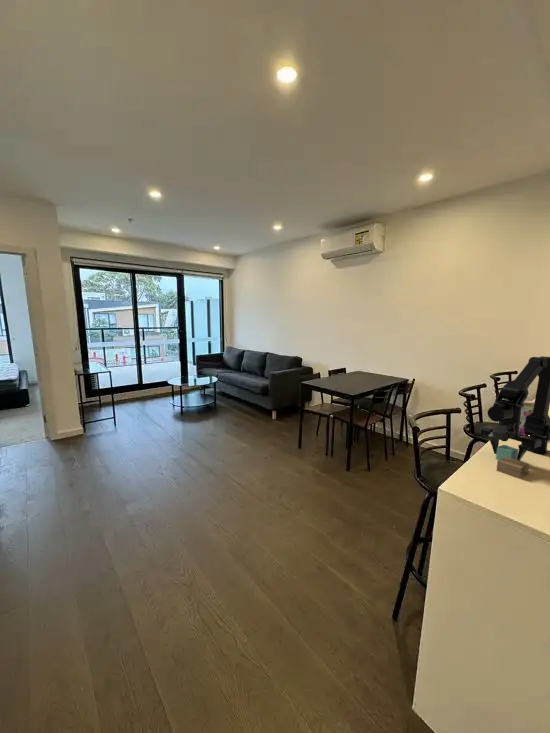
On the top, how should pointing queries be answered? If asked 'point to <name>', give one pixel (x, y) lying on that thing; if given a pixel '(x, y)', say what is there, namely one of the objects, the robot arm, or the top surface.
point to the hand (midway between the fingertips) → (506, 457)
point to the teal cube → (506, 452)
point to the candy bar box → (525, 414)
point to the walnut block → (513, 467)
